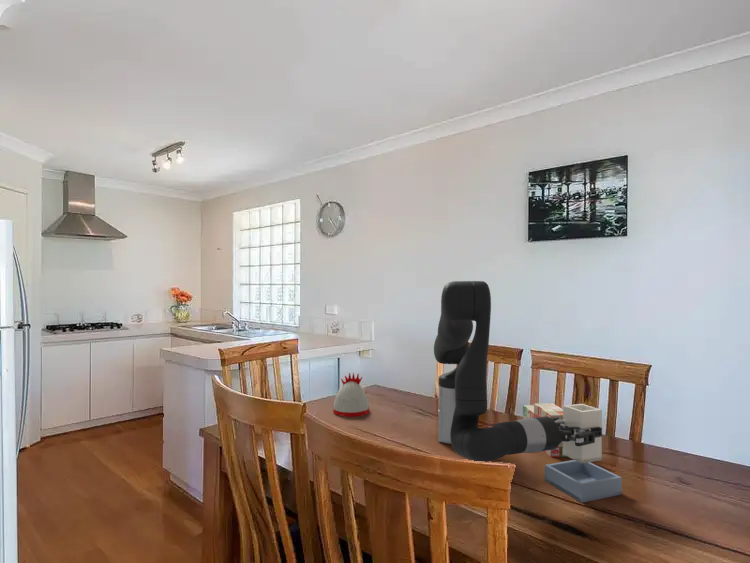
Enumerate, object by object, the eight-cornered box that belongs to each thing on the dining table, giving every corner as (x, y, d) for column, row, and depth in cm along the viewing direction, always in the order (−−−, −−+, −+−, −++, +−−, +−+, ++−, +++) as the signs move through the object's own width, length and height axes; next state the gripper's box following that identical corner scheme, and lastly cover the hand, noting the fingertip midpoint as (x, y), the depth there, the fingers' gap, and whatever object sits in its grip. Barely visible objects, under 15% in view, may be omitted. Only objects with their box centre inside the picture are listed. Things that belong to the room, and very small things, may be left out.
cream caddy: (582, 463, 105) (582, 412, 105) (563, 454, 111) (563, 405, 111) (601, 460, 107) (601, 409, 107) (582, 451, 113) (582, 403, 113)
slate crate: (581, 502, 101) (581, 485, 101) (544, 480, 113) (544, 464, 113) (621, 494, 105) (621, 477, 105) (582, 473, 117) (582, 458, 117)
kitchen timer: (368, 417, 166) (368, 376, 166) (331, 416, 167) (331, 376, 167) (369, 406, 180) (369, 369, 180) (335, 406, 180) (335, 369, 181)
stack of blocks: (522, 432, 149) (522, 395, 149) (541, 432, 150) (541, 395, 150) (550, 457, 128) (550, 414, 128) (572, 457, 128) (572, 414, 128)
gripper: (556, 427, 97) (614, 420, 103) (514, 410, 111) (568, 404, 116) (556, 462, 97) (614, 453, 103) (514, 440, 111) (568, 433, 116)
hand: (589, 427), depth 110 cm, fingers closed on cream caddy, 6 cm apart
